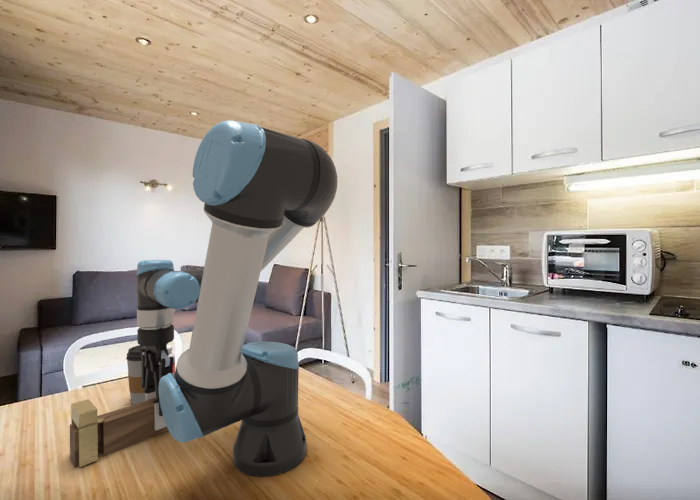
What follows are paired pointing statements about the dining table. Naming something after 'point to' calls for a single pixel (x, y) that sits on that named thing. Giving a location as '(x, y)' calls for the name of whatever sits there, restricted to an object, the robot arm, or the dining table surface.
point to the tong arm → (128, 428)
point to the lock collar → (86, 430)
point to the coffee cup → (135, 375)
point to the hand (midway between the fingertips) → (156, 423)
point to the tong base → (74, 430)
